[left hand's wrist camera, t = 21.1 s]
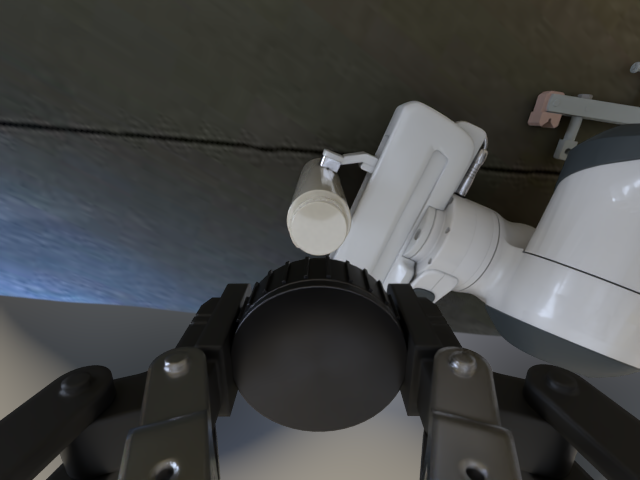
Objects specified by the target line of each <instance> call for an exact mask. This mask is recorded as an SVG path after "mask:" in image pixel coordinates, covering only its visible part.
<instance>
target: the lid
mask: <svg viewBox="0 0 640 480" xmlns="http://www.w3.org/2000/svg"><path fill="white" fill-rule="evenodd" d="M399 320H400V316H399V314H398V311H397V309H396V306H395V304H394V301H393V299H392V296H391V294H389V295H387V293H386V291H385V290H384V288H383V285H382V282H381V281H380V280H378V281H377V280H375V279H374V278H373V277H372V276H371V275H370V274H368V271H367V269H365V268H364V269H363V270H362V269H360V268H358V267H357V266H354V265H352V264H350V262H349V261H347V260H346V262H343V261H339V260H335V259H330V257H328V256H326V258H312V259H309V257H305V259H303V260H299V261H295V262H292V263H290V262H289V261H288V262H286V264H285V265H284V266H282V267H280V268H278V269H276V270H274V271H272V270H270V271H269V272H268V275H267V276H266V277H265V278H264V279H263V280H262V281H261V282H260V283H258V282H256V283H255V285H254V288H253V291H252V293H251V295H250V297H246V299H245V301H244V304H243V306H242V309H241V311H240V314H239V316H238V319H237V321H236V322H237V323H239V324H238V327H237V329H236V332H235V335H234V337H233V340H232V344H231V348H230V353H231V363H232V372H233V379H234V382H235V384H236V386H237V388H238V390H239V392H240V393H241V395H242V396H243V397H244V399H245V400H246V401H247V402H248V403H249V404H250V405H251V406H252V407H253V408H254V409H255V410H256V411H258V412H259V413H260V414H262V415H263V416H265V417H266V418H268V419H270V420H272V421H274V422H276V423H278V424H281V425H283V426H286V427H290V428H293V429H298V430H303V431H313V432H325V431H335V430H340V429H345V428H349V427H352V426H355V425H357V424H360V423H362V422H365V421H366V420H368V419H370V418H372V417H374V416H375V415H376V414H378V413H379V412H381V411H382V410H383V409H384V408H385V407H386V406H387V405H389V404H390V402H391V401H392V400H393V399H394V398H395V396H396V395H397V393H398V392H399V390H400V389H401V386H402V384H403V382H404V379H405V371H406V361H407V351H408V350H407V343H406V340H405V337H404V332H403V330H402V327H401V324H400V322H399Z"/></svg>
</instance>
